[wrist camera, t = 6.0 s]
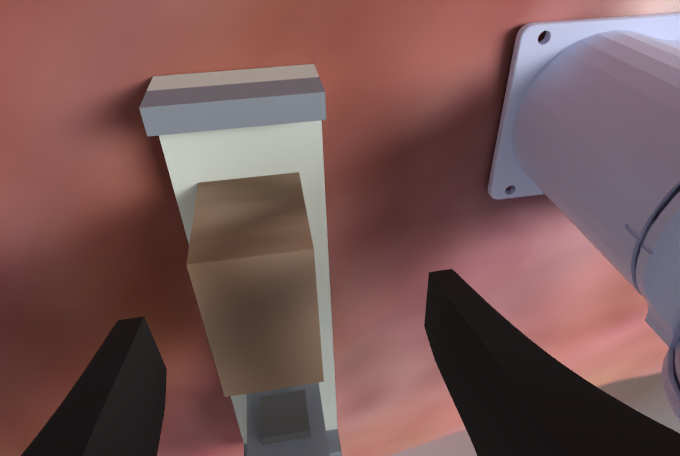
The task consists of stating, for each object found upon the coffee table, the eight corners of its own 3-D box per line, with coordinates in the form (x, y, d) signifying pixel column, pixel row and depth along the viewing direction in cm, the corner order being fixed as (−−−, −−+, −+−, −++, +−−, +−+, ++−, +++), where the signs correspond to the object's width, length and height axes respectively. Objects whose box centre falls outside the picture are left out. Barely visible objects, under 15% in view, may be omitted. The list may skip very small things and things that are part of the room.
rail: (314, 63, 18) (342, 137, 13) (334, 416, 33) (351, 518, 27) (152, 76, 18) (116, 159, 12) (246, 431, 32) (246, 538, 27)
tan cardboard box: (298, 171, 19) (313, 248, 15) (310, 304, 24) (324, 390, 20) (197, 182, 19) (186, 264, 15) (229, 315, 23) (227, 405, 19)
